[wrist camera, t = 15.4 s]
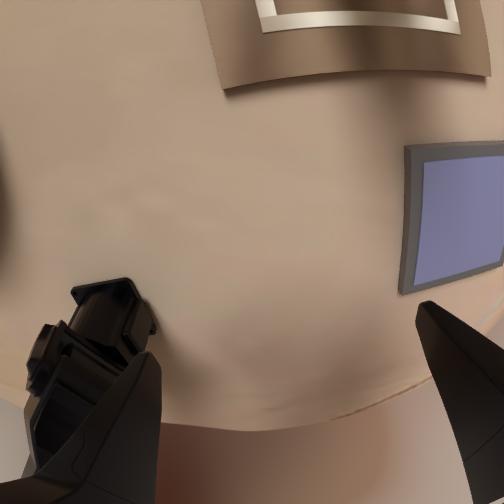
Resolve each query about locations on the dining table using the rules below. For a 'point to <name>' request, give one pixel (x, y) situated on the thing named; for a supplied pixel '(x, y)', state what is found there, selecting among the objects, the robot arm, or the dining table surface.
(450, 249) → the ink pad
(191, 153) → the dining table surface
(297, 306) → the dining table surface
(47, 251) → the dining table surface
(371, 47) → the board
